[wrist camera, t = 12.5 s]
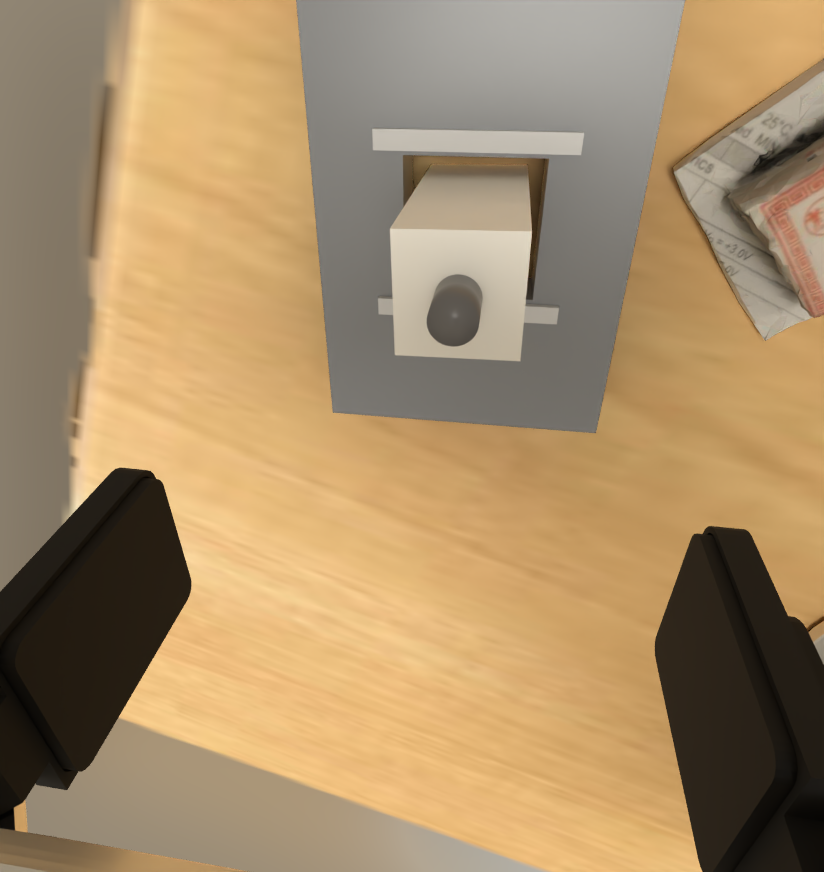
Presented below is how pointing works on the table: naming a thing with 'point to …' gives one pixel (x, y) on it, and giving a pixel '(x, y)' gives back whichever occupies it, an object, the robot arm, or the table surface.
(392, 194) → the plate
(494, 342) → the charger plug
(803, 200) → the packaged product
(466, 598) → the table surface
